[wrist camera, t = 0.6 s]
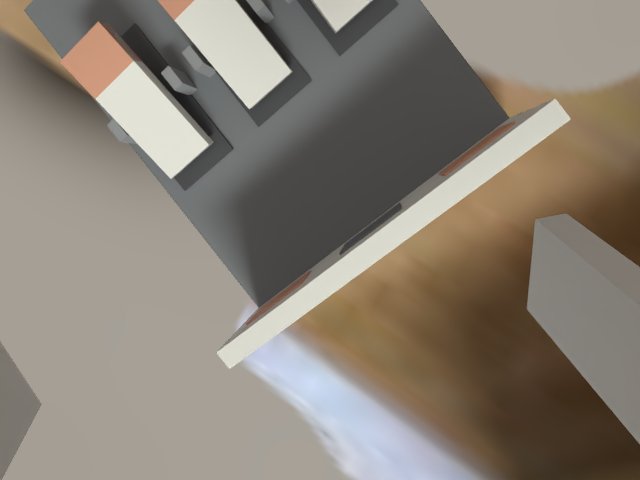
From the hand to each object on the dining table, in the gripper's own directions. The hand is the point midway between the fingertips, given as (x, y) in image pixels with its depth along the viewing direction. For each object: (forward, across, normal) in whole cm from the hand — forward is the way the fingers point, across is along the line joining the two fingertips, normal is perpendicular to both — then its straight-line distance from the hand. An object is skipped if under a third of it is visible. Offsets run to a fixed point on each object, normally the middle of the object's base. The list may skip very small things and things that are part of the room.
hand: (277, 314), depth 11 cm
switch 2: (+18, +1, -6) cm, 18 cm away
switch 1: (+17, +6, -3) cm, 19 cm away
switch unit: (+21, -1, -2) cm, 22 cm away
